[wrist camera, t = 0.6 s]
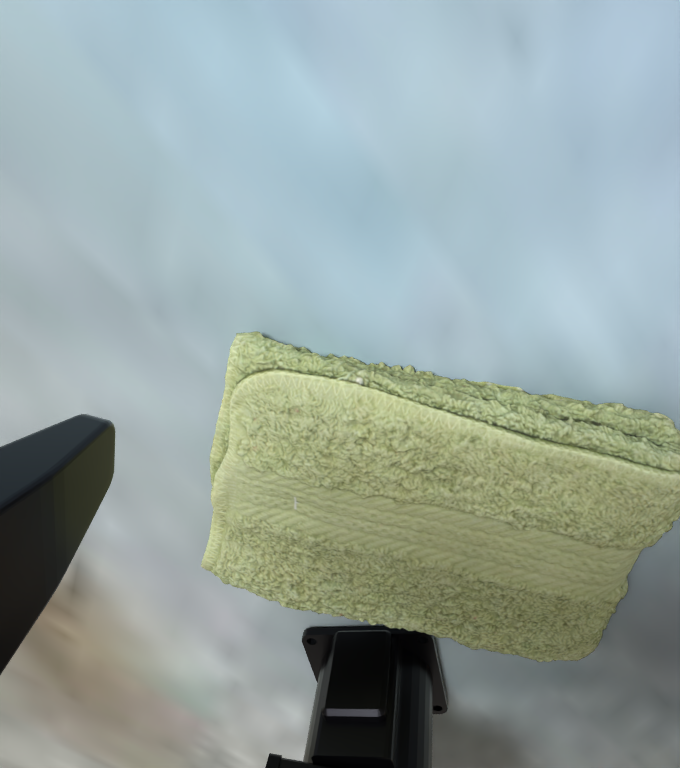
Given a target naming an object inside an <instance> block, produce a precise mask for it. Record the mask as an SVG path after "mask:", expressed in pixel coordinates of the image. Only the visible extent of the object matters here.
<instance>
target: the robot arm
mask: <svg viewBox="0 0 680 768" xmlns="http://www.w3.org/2000/svg"><path fill="white" fill-rule="evenodd" d="M114 457H115V428H114V424H113V423H112V422H111V421H109V420H106V419H102V418H98V417H94V416H91V415H86V414H81V415H77V416H75V417H72V418H70V419H67V420H65V421H62V422H60V423H58V424H55V425H53V426H50V427H48V428H45V429H43V430H41V431H38V432H36V433H33V434H31V435H28V436H26V437H24V438H21V439H19V440H16V441H14V442H11V443H9V444H6V445H4V446H2V447H0V675H1V673H2V672H3V670H4V669H5V667H6V666H7V664H8V663H9V661H10V660H11V658H12V656H13V655H14V653H15V652H16V650H17V649H18V647H19V646H20V644H21V643H22V641H23V640H24V638H25V637H26V635H27V634H28V632H29V631H30V629H31V628H32V626H33V625H34V623H35V622H36V620H37V619H38V617H39V616H40V614H41V613H42V611H43V610H44V608H45V607H46V605H47V603H48V602H49V600H50V599H51V597H52V595H53V594H54V592H55V591H56V589H57V587H58V586H59V584H60V582H61V580H62V578H63V576H64V574H65V573H66V571H67V569H68V567H69V565H70V563H71V561H72V559H73V557H74V555H75V553H76V551H77V549H78V547H79V545H80V543H81V541H82V539H83V537H84V535H85V533H86V532H87V530H88V528H89V526H90V524H91V522H92V520H93V518H94V516H95V514H96V512H97V510H98V508H99V506H100V504H101V502H102V500H103V498H104V496H105V494H106V492H107V490H108V488H109V486H110V484H111V481H112V478H113V473H114ZM302 643H303V646H304V648H305V651H306V654H307V656H308V659H309V662H310V664H311V667H312V670H313V672H314V675H315V678H316V681H317V683H318V684H317V689H316V695H315V700H314V705H313V711H312V716H311V722H310V727H309V733H308V738H307V744H306V749H305V755H304V760H303V762H302V761H297V760H291V759H286V758H282V755H277V754H271V753H270V754H269V757H268V761H267V764H266V767H265V768H432V714H443V713H445V712H446V711H447V697H446V692H445V688H444V683H443V678H442V673H441V668H440V663H439V659H438V654H437V649H436V644H435V639H434V635H429V634H426V633H424V632H422V633H421V632H418V631H416V630H414V631H408V630H406V629H404V628H401V629H398V628H389V627H343V628H308V629H306V630H304V632H303V636H302Z"/></svg>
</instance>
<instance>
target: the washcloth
mask: <svg viewBox="0 0 680 768" xmlns="http://www.w3.org/2000/svg"><path fill="white" fill-rule="evenodd" d="M210 465H211V467H210V473H211V483H212V486H213V487H212V490H211V502H212V505H213V508H214V511H213V517H212V524H211V529H210V537H209V541H208V544H207V548H206V551H205V554H204V557H203V560H202V564H201V567H202V568H204V569H206V570H208V571H211V572H212V573H213V574H214V575H215V576H217V577H219V578H220V579H221V580H222V582H223V583H224V584H231V585H232V586H233V587H237V588H242V589H244V588H245V589H246V590H248V591H249V592H252V593H255V594H256V595H258V596H261V597H263V598H265V599H267V600H270V601H278V602H280V604H281V606H283V607H287V608H291V609H295V610H302V611H306V610H312V611H314V612H317V613H318V614H321V613H325V614H331V615H332V616H333V617H336V616H344V617H346V618H348V619H352V620H360V621H361V622H364V620H367V621H368V623H369V624H370V625H376V624H380V625H381V624H384V625H385V626H387V627H389V628H398V629H401V628H404V629H406V630H408V631H414V630H416V631H418V632H421V633H422V632H424V633H426V634H429V635H434V636H436V637H438V638H446V637H448V638H451V639H453V640H454V641H457V642H458V643H460V644H463V645H465V646H466V647H469V648H471V649H472V650H477V649H480V648H482V649H486V650H488V651H491V652H492V651H493V652H495V651H497V652H500V653H502V654H512V655H519V656H521V657H525V658H529V659H533V660H537V662H542V661H546V662H550V661H552V660H554V661H556V660H564V661H568V660H571V661H573V660H575V661H578V660H580V659H582V658H584V657H586V656H588V655H589V654H590V653H591V652H593V651H594V650H595V648H596V647H597V646H598V644H599V641H600V640H601V638H602V631H603V630H604V629H606V627H607V624H608V622H609V619H610V617H611V615H612V613H615V612H616V610H615V607H616V606H617V603H618V602H619V601H620V599H623V598H624V596H625V595H626V593H627V591H628V590H627V589H628V582H627V577H628V574H629V572H630V571H631V570H632V567H633V565H634V563H635V562H636V560H637V558H638V556H639V554H640V552H641V551H642V550H643V548H646V547H651V546H653V545H654V544H655V543H656V542H657V541H658V540H659V539H660V538H661V537H662V534H663V533H664V532H668V531H669V530H671V529H672V527H673V525H672V522H673V521H676V520H678V518H679V516H680V431H679V430H678V429H676V428H675V425H674V422H673V421H672V420H671V419H670V418H668V417H667V416H665V415H662V414H660V413H650V412H648V411H645V410H635V409H632V408H627V407H625V406H624V405H623V404H621V403H604V404H598V405H594V404H592V403H591V402H589V401H586V400H585V401H579V400H574V399H571V398H565V397H561V396H556V395H552V394H548V395H537V394H536V395H531V394H528V393H526V392H525V391H523V390H522V389H521V388H519V387H510V386H502V385H498V384H494V383H489V382H474V381H472V382H470V381H467V380H466V379H461V380H460V379H454V380H450V379H449V378H446V377H440V376H436V375H433V374H432V372H431V371H429V372H424V371H417V372H416V373H415V372H414V368H413V367H412V366H410V365H409V366H407V367H405V368H404V369H403V370H402V369H401V366H400V365H396V366H393V367H391V368H389V367H388V366H386V365H385V364H384V363H383V362H380V363H379V364H378V365H375V364H373V363H370V365H366V364H364V363H363V362H360V361H359V360H357V359H354V358H353V357H350V358H348V357H346V356H342V357H340V358H338V357H335V356H334V355H333V354H329V355H328V356H327V357H324V356H320V355H318V354H317V353H311V352H310V351H309V350H307V349H306V348H305V347H301V348H297V347H294V346H292V345H291V344H289V345H285V344H283V343H278V342H277V341H275V340H272V339H269V338H266V337H263V336H262V334H261V333H260V332H251V333H237V334H236V337H235V339H234V341H233V343H232V345H231V348H230V355H229V358H228V365H227V372H226V376H225V390H224V396H223V400H222V405H221V408H220V412H219V417H218V421H217V424H216V432H215V435H214V439H213V445H212V449H211V454H210Z"/></svg>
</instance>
